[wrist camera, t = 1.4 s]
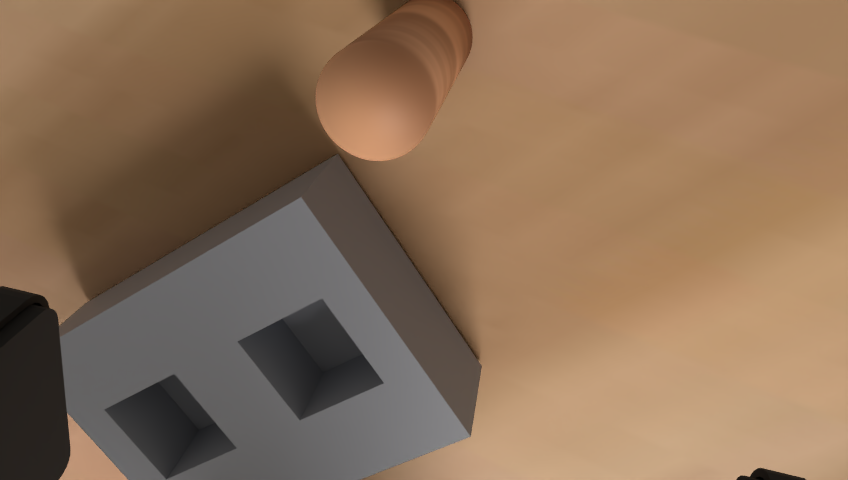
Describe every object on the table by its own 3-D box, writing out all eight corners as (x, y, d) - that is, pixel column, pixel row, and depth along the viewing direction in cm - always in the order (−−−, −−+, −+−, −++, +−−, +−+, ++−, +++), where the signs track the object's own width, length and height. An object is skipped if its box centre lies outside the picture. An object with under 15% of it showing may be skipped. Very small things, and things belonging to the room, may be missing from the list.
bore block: (230, 473, 40) (189, 546, 36) (85, 303, 37) (19, 360, 32) (481, 366, 34) (470, 436, 30) (337, 153, 31) (301, 196, 27)
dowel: (419, 93, 29) (358, 180, 20) (375, 23, 28) (292, 82, 20) (488, 52, 28) (455, 125, 19) (444, -23, 27) (390, 18, 18)
